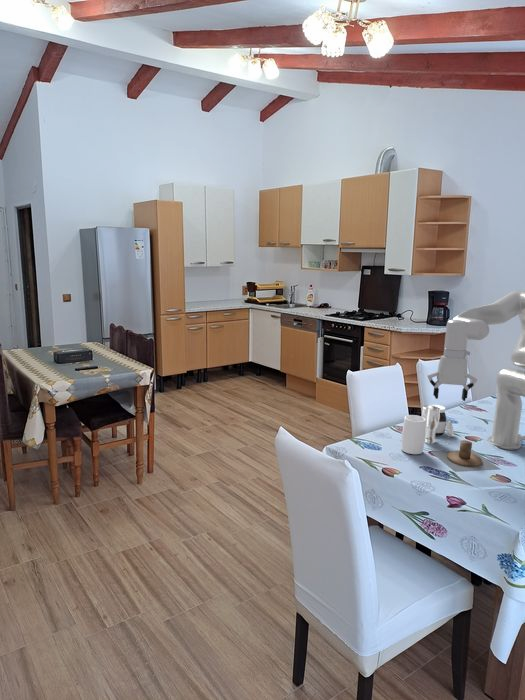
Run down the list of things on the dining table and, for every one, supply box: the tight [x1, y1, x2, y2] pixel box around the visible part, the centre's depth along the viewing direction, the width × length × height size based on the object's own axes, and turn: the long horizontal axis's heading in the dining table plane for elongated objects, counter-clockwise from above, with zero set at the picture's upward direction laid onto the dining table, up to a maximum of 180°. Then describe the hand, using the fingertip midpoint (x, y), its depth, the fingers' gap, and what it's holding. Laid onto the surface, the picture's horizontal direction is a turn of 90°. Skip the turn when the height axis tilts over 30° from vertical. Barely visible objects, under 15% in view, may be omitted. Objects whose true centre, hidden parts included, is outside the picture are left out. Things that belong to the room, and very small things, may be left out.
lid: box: [447, 439, 482, 467], centre depth 192 cm, size 12×12×7 cm
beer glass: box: [421, 404, 440, 444], centre depth 210 cm, size 7×7×15 cm
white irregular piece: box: [433, 404, 454, 438], centre depth 221 cm, size 12×11×12 cm
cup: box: [401, 414, 426, 455], centre depth 198 cm, size 8×8×14 cm
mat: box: [430, 449, 501, 473], centre depth 193 cm, size 18×18×1 cm
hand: (449, 398), depth 192 cm, fingers open, 9 cm apart
